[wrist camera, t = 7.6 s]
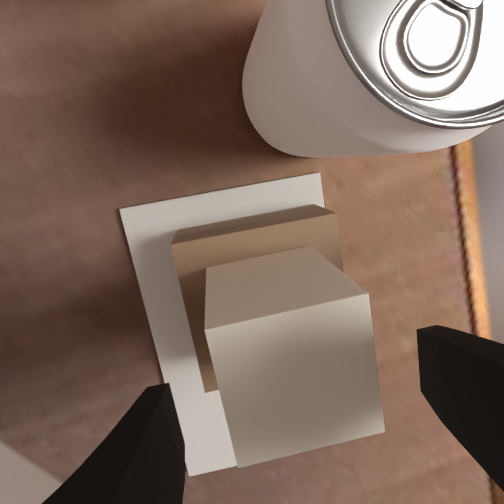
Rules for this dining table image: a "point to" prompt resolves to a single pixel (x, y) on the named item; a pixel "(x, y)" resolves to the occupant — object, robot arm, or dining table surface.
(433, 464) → the dining table surface
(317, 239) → the brown block
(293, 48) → the can
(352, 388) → the cream block
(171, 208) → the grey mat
